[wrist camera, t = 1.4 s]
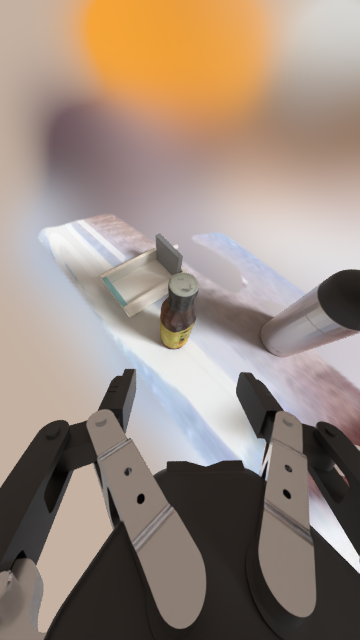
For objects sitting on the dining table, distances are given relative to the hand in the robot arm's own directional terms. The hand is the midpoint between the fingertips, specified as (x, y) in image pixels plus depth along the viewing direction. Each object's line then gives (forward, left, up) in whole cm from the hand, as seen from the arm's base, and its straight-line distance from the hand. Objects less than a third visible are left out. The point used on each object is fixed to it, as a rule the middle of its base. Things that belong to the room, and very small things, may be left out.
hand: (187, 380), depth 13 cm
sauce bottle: (-8, -9, -24) cm, 27 cm away
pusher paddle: (-19, -25, -23) cm, 39 cm away
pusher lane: (-11, -25, -24) cm, 36 cm away
